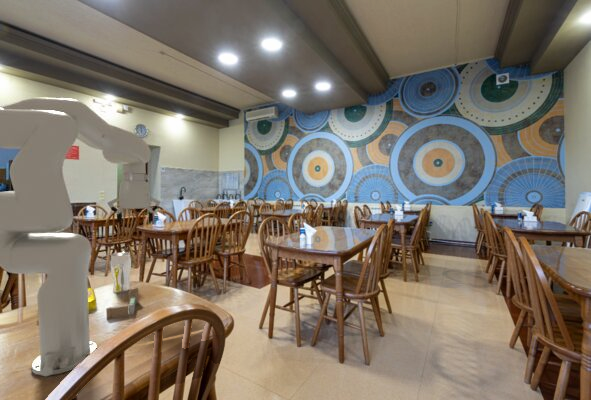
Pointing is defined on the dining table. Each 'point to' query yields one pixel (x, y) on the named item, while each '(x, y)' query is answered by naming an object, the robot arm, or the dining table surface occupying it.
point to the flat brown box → (119, 311)
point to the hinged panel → (133, 296)
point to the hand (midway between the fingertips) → (135, 223)
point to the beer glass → (121, 271)
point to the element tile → (91, 299)
